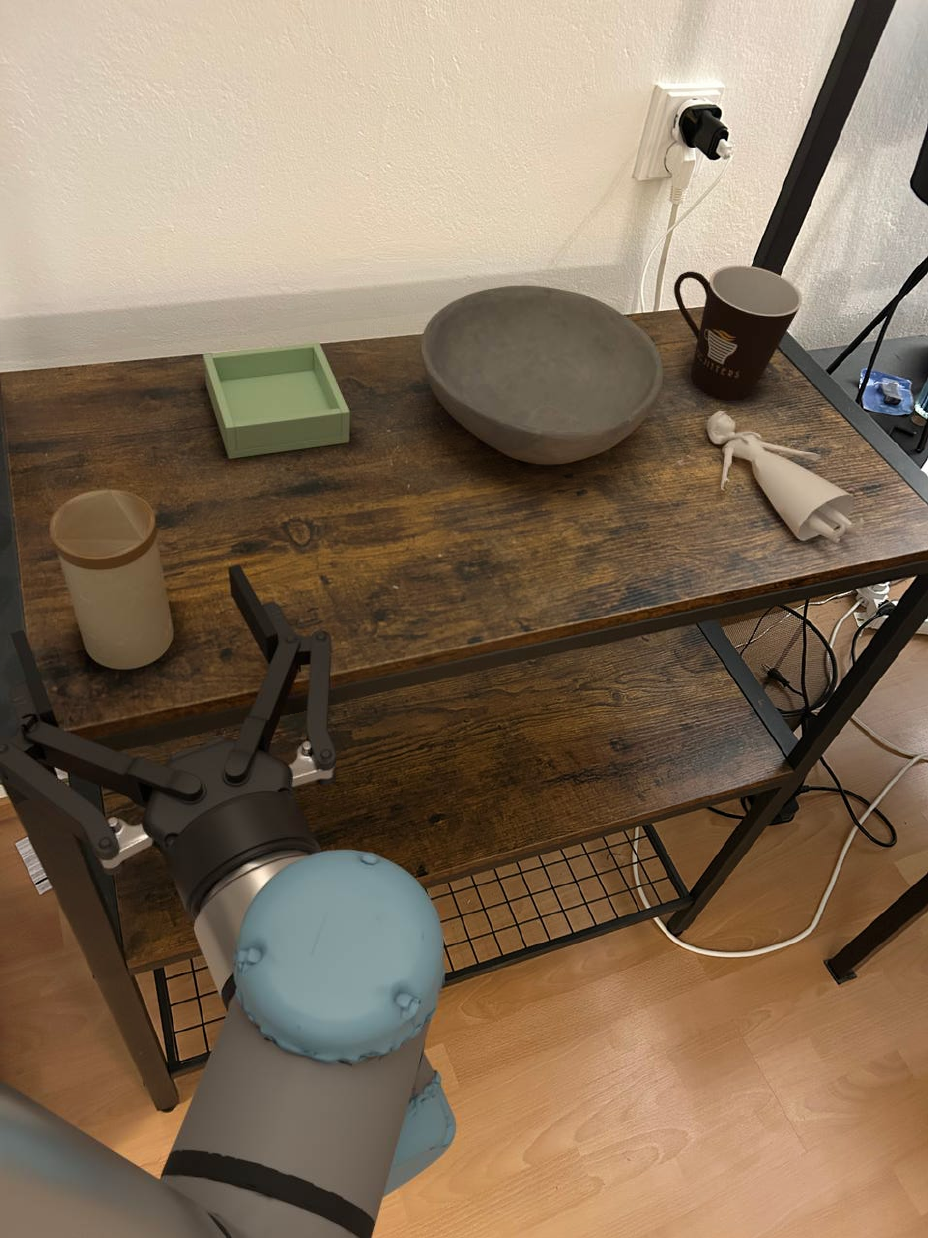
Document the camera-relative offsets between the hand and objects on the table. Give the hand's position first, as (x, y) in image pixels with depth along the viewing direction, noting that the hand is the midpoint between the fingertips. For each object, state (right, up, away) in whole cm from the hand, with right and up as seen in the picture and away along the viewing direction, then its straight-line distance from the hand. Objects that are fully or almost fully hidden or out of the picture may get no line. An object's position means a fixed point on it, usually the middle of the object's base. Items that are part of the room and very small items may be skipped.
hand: (133, 610), depth 62 cm
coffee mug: (+46, +24, +36) cm, 64 cm away
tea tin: (-2, -2, +6) cm, 7 cm away
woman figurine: (+48, +11, +25) cm, 56 cm away
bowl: (+27, +17, +27) cm, 42 cm away
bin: (+5, +18, +24) cm, 30 cm away
